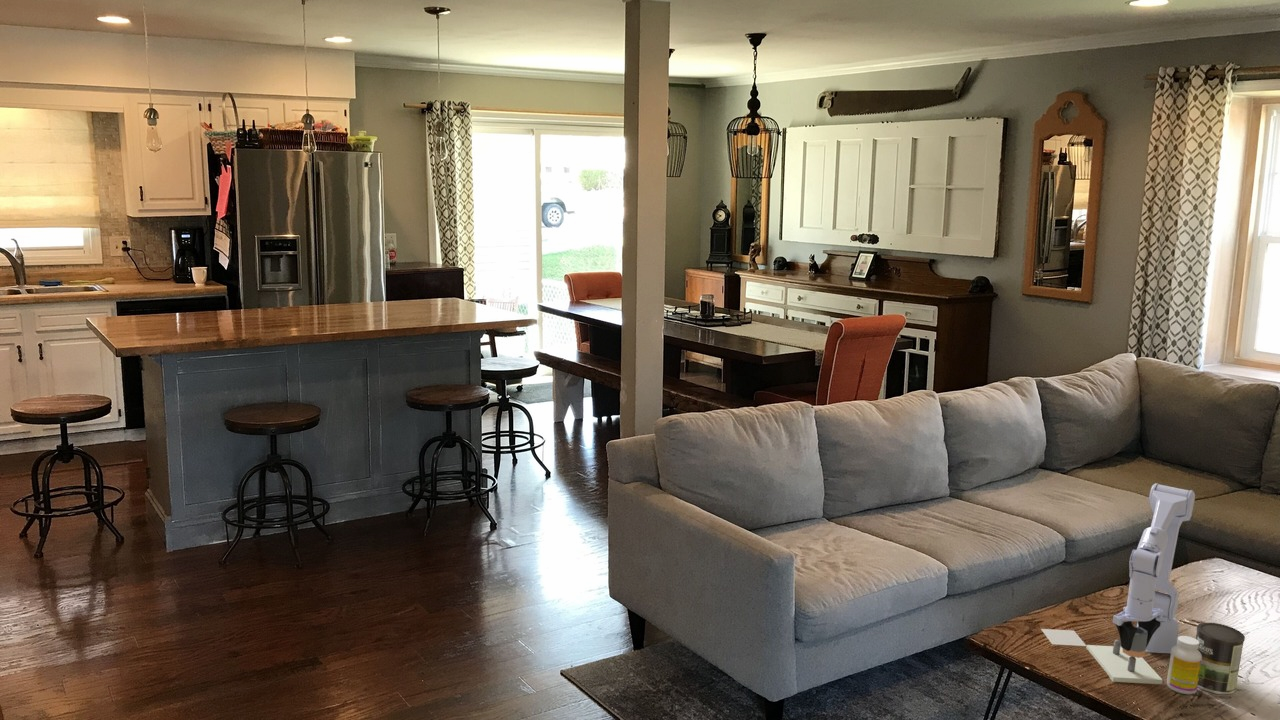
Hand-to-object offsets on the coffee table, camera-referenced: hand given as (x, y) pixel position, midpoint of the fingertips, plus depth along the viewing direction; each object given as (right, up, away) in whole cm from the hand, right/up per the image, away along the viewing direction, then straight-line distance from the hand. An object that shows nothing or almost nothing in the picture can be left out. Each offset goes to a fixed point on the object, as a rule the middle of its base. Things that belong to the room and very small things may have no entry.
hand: (1134, 647), depth 249 cm
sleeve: (0, -1, 0) cm, 1 cm away
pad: (-9, -3, +20) cm, 22 cm away
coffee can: (+19, -9, -2) cm, 21 cm away
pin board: (0, -7, +6) cm, 9 cm away
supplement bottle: (+9, -9, -4) cm, 14 cm away
